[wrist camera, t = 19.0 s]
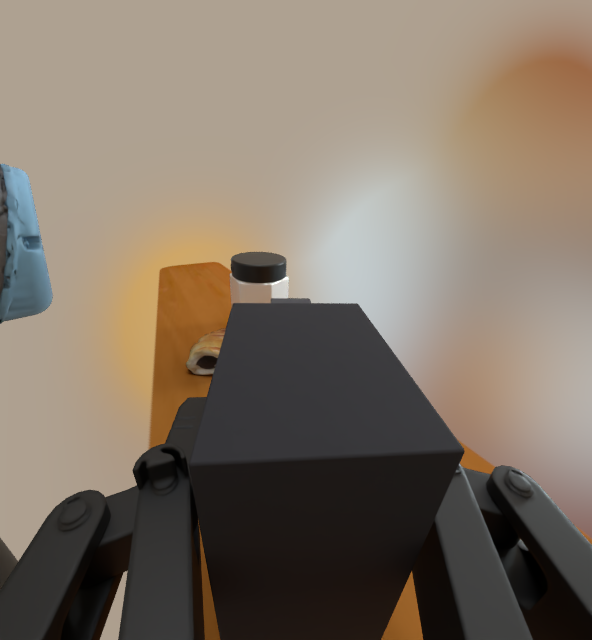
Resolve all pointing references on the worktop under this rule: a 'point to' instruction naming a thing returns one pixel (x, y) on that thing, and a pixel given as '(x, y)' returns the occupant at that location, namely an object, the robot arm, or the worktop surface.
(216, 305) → the worktop surface
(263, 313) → the block
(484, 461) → the worktop surface
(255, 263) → the jar
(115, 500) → the robot arm
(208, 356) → the pastry
